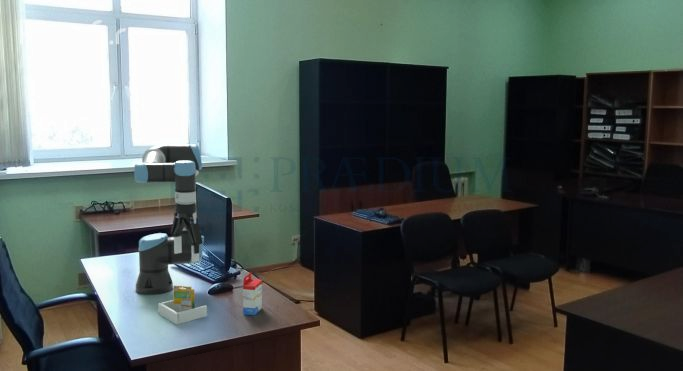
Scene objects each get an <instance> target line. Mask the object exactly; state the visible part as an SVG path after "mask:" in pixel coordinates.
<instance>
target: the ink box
mask: <svg viewBox="0 0 683 371" xmlns="http://www.w3.org/2000/svg"><path fill="white" fill-rule="evenodd" d="M242 281H243V283H242V284H243V285H242V313H243V315H246V316H256V315H257V314H258V313H259V312H260V311H261V310H262V309H263V306H262V304H263V280H262V279H258V278H252V271H250V272H249V273H247V274H246V275H245V276H244V277H243V279H242Z"/></svg>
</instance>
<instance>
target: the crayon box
mask: <svg viewBox="0 0 683 371" xmlns="http://www.w3.org/2000/svg"><path fill="white" fill-rule="evenodd" d="M195 296H196V295H195V289H193V288H192V286H183V285H173V300H174V311H176V312H177V313H178V312H182V311H186V310H189V309H193V308H196V307H195V305H196V304H195V302H196V301H195V300H196V299H195Z"/></svg>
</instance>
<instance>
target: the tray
mask: <svg viewBox="0 0 683 371" xmlns="http://www.w3.org/2000/svg"><path fill="white" fill-rule="evenodd" d="M157 305H158V315H161V316H162V317H164V318H166V319H167V320H169V321H170V322H172V323H173V324H175V325H180V324H184V323H186V322H187V321H188V322H190V321H191V322H192V321H194V320H198V319H202V318H206V317H207V316H208V306H207V305H205V304H204V305H202V306H198V307H195V308H193V309H189V310H186V311H182V312H178V313H177V312H176V311H174V299H170V300H167V301H163V302H159V303H158V304H157Z"/></svg>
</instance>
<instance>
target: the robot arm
mask: <svg viewBox="0 0 683 371" xmlns="http://www.w3.org/2000/svg"><path fill="white" fill-rule="evenodd" d="M141 158H142V159H141V160H142V162H140V163H137V162H136V163H134V164H135V165H134V170H133V171H134V181H135V182H136V183H139V184H140V183H141V184H150V183H151V184H152V183H153V184H155V183H157V184H160V183H174V198H175V199H174V200H175V204H174V206H175V207H174V209H175V210H174V211H175V212H174V213H173V219H172V220H173V221H172V225H171V228H170V234H171V235H172V236H168V234H167V233H162V232H158V233H153V234H148V235H145V236H142V237H141V238H140V239H139V240H138V250H137V251H138V254H139V256H138V258H139V259H138V261H139V262H138V263H139V274H138V276H137V279H136V282H135V291H136V292H137V293H139V294H142V295H158V294H159V295H160V294H164V293H167V292H169V291H171V290H173V289H174V285H173V284H174V282H173V279H172V276H171V274H170V272H169V265H186V264H187V265H188V264H190V265H191V264H198V263H200V262H201V261H202V258H203V250H204V242H205V236H204V235H202V234H201V233H202V232H201V229H200V226H199V225H200V224H199V218H198V217H197V189H196V188H197V186H196V185H197V184H196V178H197V176H198V175H199V174H200V171H201V170H202V169H203V164H202V163H203V162H202V155H201V150H200V147H199V145H197V144H194V143H161V144H157V145H154V146H151V147H149V148H147V149H146V150H145V151H144V153H143V155H142V157H141Z"/></svg>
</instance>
